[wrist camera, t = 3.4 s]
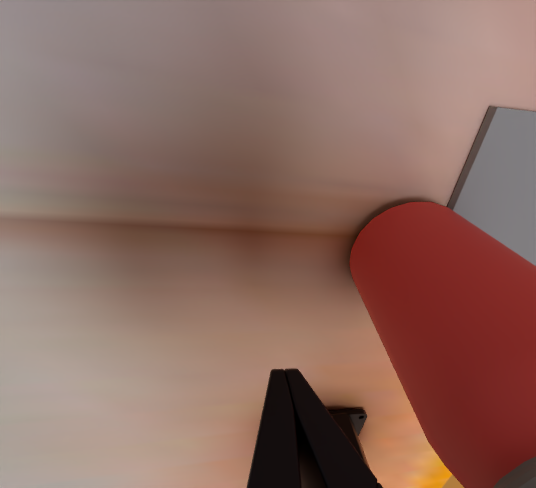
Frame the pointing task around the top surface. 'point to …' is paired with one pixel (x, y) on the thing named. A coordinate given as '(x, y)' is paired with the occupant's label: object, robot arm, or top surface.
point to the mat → (502, 180)
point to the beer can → (456, 337)
